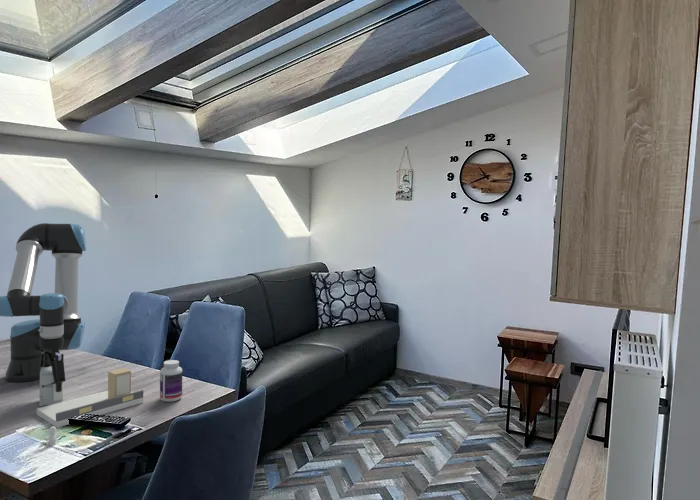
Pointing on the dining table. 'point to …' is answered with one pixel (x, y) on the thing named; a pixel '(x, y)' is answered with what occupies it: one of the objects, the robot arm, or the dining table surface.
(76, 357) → the dining table surface
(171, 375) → the pill bottle
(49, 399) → the supplement box
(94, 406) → the shelf
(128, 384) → the carton
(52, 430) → the figurine
